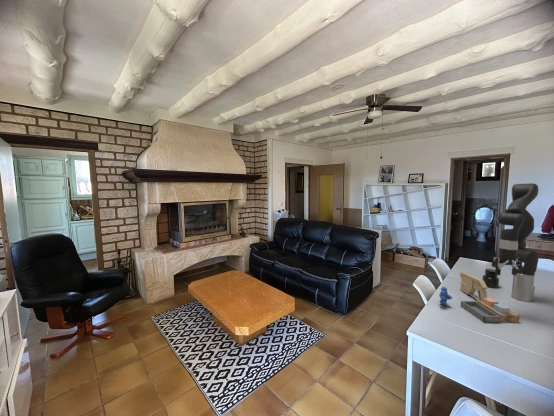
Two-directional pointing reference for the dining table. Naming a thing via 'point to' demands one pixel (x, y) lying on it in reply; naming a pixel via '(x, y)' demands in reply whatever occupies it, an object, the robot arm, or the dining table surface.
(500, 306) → the pale blue-gray cube
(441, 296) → the grapes
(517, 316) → the board
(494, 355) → the dining table surface
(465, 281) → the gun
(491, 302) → the cube terracotta
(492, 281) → the ink bottle
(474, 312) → the tray
